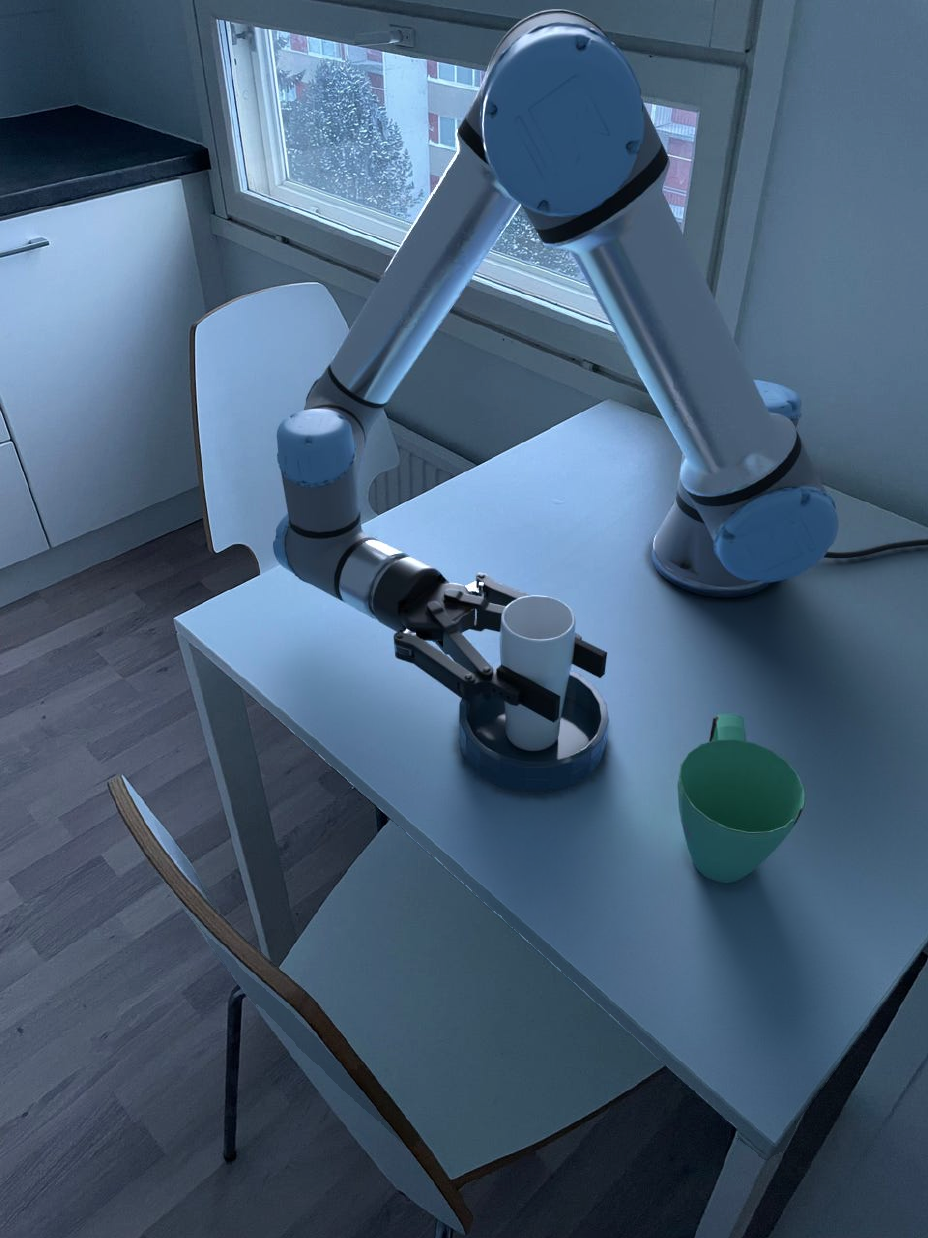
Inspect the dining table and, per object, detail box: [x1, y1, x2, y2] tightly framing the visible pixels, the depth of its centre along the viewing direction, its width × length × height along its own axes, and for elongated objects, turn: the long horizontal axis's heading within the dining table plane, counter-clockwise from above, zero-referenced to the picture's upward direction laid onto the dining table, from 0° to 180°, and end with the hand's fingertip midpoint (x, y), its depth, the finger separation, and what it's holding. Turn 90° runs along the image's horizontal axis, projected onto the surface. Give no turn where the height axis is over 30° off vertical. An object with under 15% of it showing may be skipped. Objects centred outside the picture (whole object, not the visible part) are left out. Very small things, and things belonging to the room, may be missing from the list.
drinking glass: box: [499, 594, 576, 751], centre depth 84 cm, size 7×7×15 cm
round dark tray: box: [458, 666, 610, 794], centre depth 88 cm, size 14×14×4 cm
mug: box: [677, 712, 806, 884], centre depth 76 cm, size 15×10×10 cm
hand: (580, 686), depth 80 cm, fingers closed on drinking glass, 7 cm apart
